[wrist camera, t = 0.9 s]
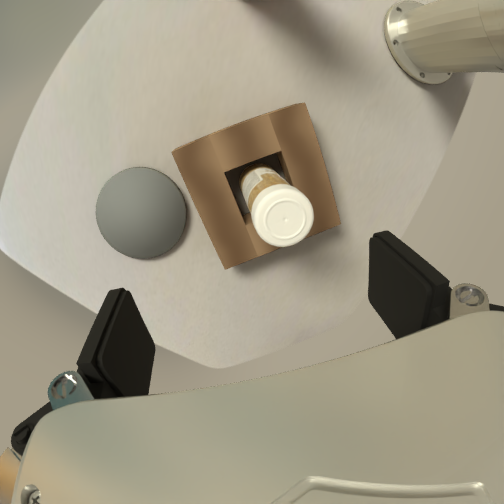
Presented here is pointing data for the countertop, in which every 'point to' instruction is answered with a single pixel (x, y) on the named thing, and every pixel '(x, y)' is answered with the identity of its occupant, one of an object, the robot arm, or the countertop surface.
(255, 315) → the countertop surface
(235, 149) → the walnut pocket block
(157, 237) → the slate coaster
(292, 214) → the sprinkles bottle
